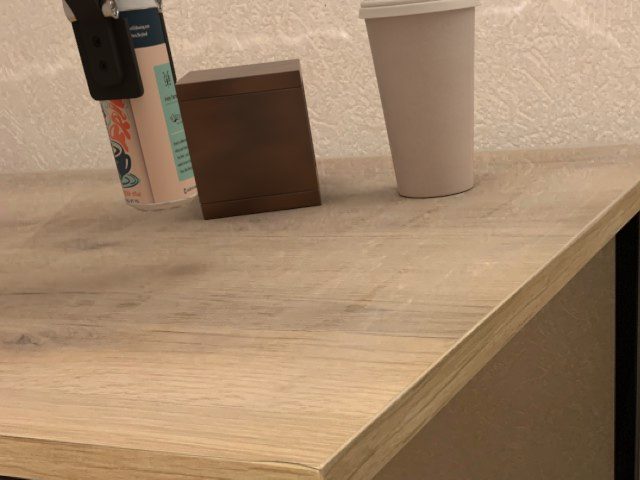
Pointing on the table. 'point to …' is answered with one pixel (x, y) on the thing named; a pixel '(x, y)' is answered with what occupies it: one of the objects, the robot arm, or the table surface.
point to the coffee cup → (426, 90)
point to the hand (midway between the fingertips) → (135, 89)
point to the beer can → (150, 122)
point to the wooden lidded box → (249, 138)
